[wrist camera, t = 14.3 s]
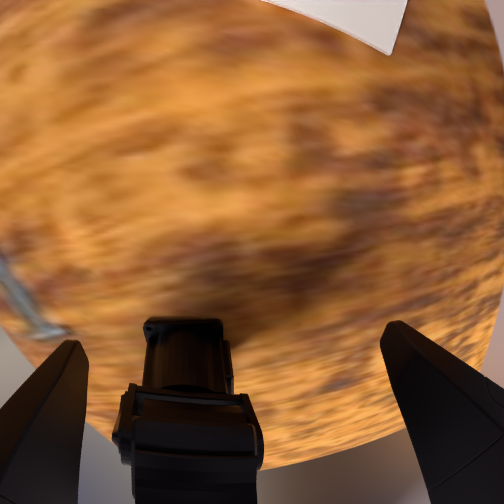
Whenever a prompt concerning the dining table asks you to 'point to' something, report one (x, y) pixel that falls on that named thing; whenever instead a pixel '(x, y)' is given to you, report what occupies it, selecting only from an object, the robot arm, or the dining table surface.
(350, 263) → the dining table surface
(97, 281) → the dining table surface
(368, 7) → the letter tile
